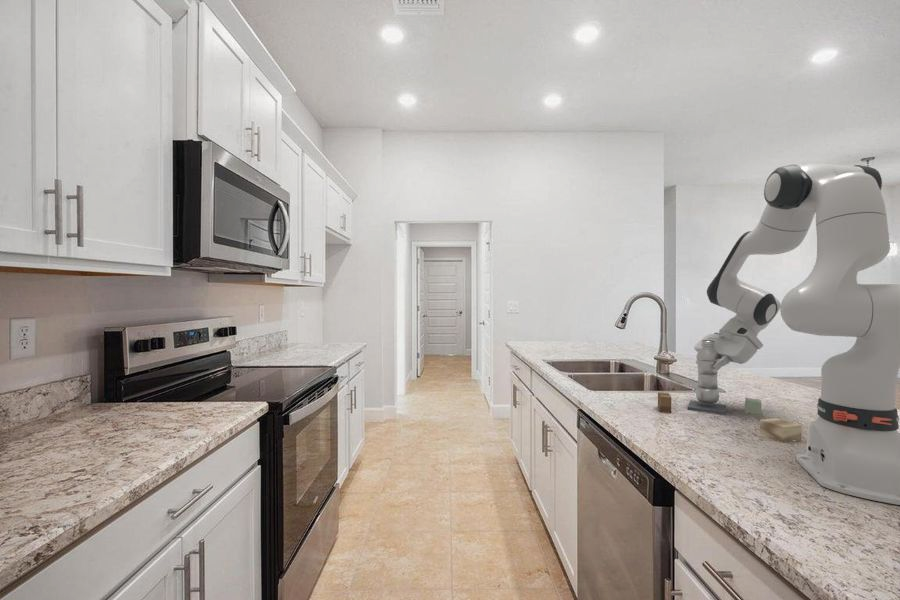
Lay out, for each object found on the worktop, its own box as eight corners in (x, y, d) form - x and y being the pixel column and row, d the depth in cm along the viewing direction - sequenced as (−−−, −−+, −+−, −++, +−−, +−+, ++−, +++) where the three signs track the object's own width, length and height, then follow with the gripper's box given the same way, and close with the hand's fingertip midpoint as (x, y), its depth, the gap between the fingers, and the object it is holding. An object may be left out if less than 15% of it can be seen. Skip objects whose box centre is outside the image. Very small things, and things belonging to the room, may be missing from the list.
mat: (725, 414, 127) (725, 412, 127) (687, 409, 132) (687, 406, 132) (725, 407, 135) (726, 404, 135) (690, 402, 140) (690, 400, 140)
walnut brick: (671, 413, 128) (671, 397, 128) (660, 412, 129) (660, 396, 129) (668, 408, 134) (668, 392, 134) (657, 407, 135) (657, 392, 135)
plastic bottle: (719, 401, 135) (720, 340, 134) (719, 406, 129) (720, 342, 128) (696, 399, 138) (696, 338, 138) (695, 403, 132) (696, 340, 132)
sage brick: (761, 415, 126) (761, 402, 126) (745, 413, 129) (745, 400, 129) (760, 412, 130) (761, 399, 130) (745, 410, 132) (745, 397, 132)
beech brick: (801, 441, 105) (801, 425, 105) (782, 443, 104) (783, 427, 104) (777, 433, 111) (777, 418, 111) (759, 434, 110) (759, 419, 109)
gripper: (707, 325, 144) (679, 354, 143) (754, 331, 123) (722, 364, 123) (719, 338, 144) (691, 367, 144) (768, 346, 124) (736, 379, 123)
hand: (706, 366), depth 133 cm, fingers closed on plastic bottle, 6 cm apart
